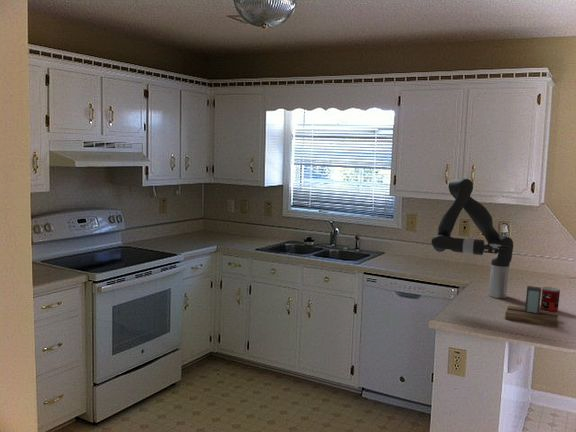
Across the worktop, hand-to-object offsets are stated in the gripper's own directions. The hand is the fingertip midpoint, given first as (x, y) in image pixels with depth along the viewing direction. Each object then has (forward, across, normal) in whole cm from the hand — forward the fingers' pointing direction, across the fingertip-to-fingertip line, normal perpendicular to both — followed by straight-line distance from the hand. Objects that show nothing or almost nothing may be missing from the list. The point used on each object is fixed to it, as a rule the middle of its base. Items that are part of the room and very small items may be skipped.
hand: (508, 250), depth 275 cm
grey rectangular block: (+13, -5, +30) cm, 33 cm away
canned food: (+20, +20, +32) cm, 42 cm away
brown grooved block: (+13, -5, +31) cm, 34 cm away
